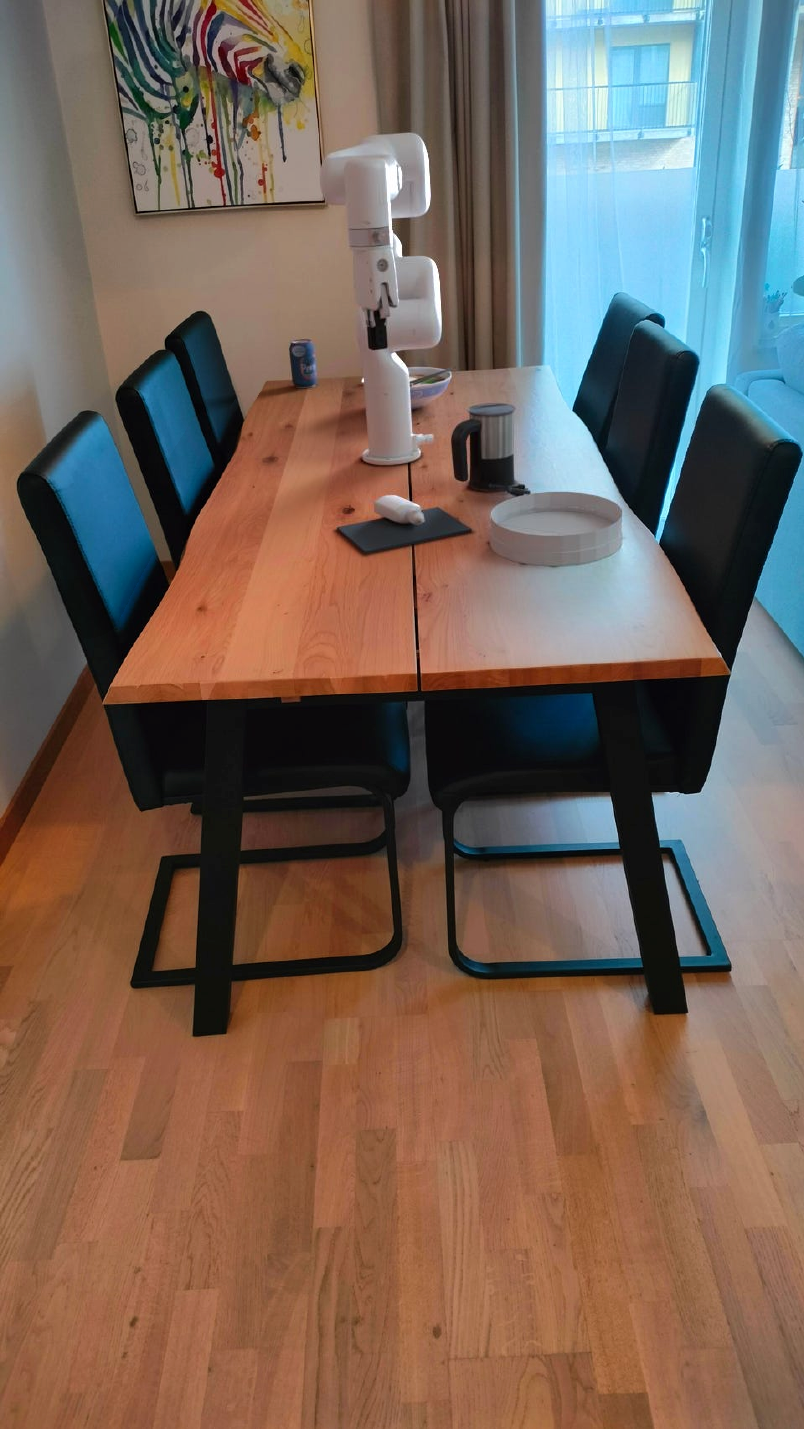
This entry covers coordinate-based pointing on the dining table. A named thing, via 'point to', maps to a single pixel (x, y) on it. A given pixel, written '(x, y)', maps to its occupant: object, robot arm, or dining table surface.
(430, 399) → the ramen bowl
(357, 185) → the robot arm
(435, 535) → the mat
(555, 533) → the dish
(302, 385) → the soda can
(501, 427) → the milk frother
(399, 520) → the eye dropper bottle
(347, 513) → the dining table surface
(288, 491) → the dining table surface
